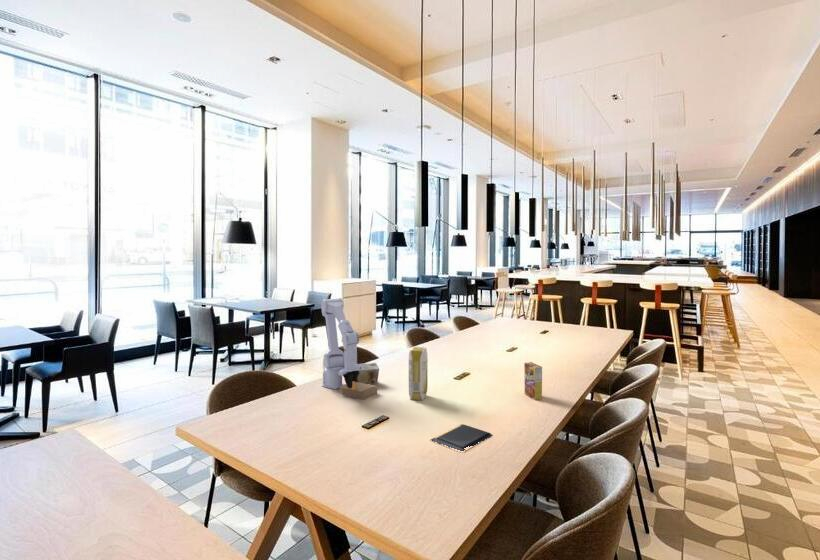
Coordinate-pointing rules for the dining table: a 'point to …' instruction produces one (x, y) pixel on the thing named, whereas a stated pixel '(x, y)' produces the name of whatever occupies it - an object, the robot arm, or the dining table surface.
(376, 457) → the dining table surface
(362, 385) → the lid
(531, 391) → the candy box
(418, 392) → the juice carton
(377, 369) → the coffee box
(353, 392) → the carton
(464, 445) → the wallet
